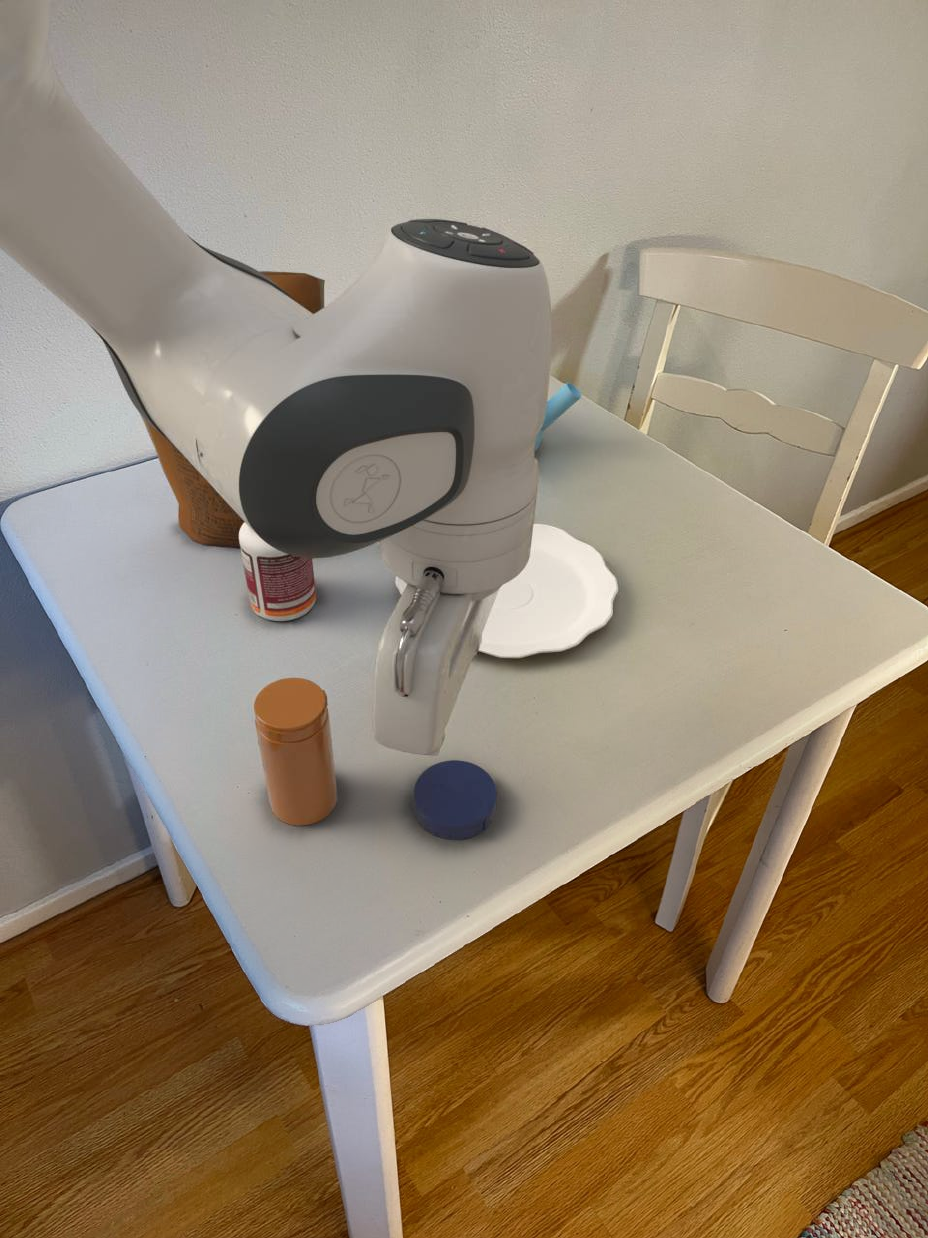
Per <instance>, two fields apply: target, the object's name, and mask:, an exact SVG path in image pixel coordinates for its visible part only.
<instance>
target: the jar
mask: <svg viewBox="0 0 928 1238" xmlns="http://www.w3.org/2000/svg"><path fill="white" fill-rule="evenodd" d="M328 702H329V701H328V694H327V693H326V691H325V689H322V688H321V687H320V685H318V684H317V683H316V682H314V681H312V680H311V679H310V680H309V679H306V678H302V677H287V678H286V677H285V678H281V679H278V680H275V681H273V682H271V683H269V684H267V685H266V686H264V687H263V688H262V689H261V690H260V691H259V692H258V694H257V696H256V697H255V699H254V703H253V711H254V725H255V730H256V737H257V742H258V747H259V752H260V758H261V763H262V768H263V773H264V778H265V784H266V790H267V795H268V801H269V806H270V809H271V812H272V814H273V815H274V816H275V817H276V818H277V819H278V820H280V821H281V822H283V823H285V824H287V825H291V826H297V827H302V826H303V827H305V826H309V825H313V824H316V823H319V822H320V821H322V820H324V819H325V818H326V817H328V816H329V815H330V814H331V813H332V812H333V810H334V809H335V807H336V805H337V802H338V786H337V778H336V769H335V768H336V767H335V758H334V750H333V739H332V732H331V731H332V729H331V722H330V721H331V720H330V711H329V708H328V705H329V703H328Z"/></svg>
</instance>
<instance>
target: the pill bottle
mask: <svg viewBox="0 0 928 1238" xmlns="http://www.w3.org/2000/svg"><path fill="white" fill-rule="evenodd" d="M239 543H240V548H239V549H240V554H241V560H242V564H243V572H244V577H245V582H246V587H247V588H246V589H247V593H248V599H249V604H250V607H251V609H252V611H253V612H254V613H255V614H256V615H257V616H259V617H261V618H263V619H265V620H268V621H273V622H285V621H292V620H295V619H299V618H301V617H303V616H305V615H306V614H307V613H308V612H309V611H311V609H312V608H314V605H315V603H316V600H317V589H316V581H315V572H314V563H313V558H303V557H297V556H293V555H289V554H286V553H284V552H281V551H279V550H277V549H275V548H273V547H272V546H270V545H269V544H267V543H266V542H265V541H263V540H262V539H261V538H260V537H259V536H258V535H257V534H256V533H255V531H254V530H253V529H252V528H250V527H249V526H248V525H247V524H246V523H245V522H244V523H243V525H242V526H241V528H240V531H239Z"/></svg>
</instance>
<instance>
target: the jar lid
mask: <svg viewBox="0 0 928 1238" xmlns="http://www.w3.org/2000/svg"><path fill="white" fill-rule="evenodd" d="M497 790H498V789H497V786H496V783H495V781H494V779H493V777H492V776H491V775H490V774H489V773H488V772H487V771H486V770H485V769H484V768H483V767H481V766H479V765H477V764H476V763H473V762H470V761H466V760H458V759H453V760H452V759H451V760H444V761H440V762H437V763H435V764H433V765H431V766H429V767H427V768H426V769H425V770H424V771H423V772H422V773H421V774H420V775H419V776H418V778H417V779H416V782H415V784H414V787H413V810H414V816H415V818H416V819H417V822H418V823H419V824H420V825H421V827H423V828H424V830H426V831H427V832H428V833H430V834H431V835H433V836H436V837H438V838H440V839H444V840H452V841H456V840H457V841H460V840H466V839H471V838H472V837H475V836H477V835H479V834H481V833H482V832H484V831H486V830H487V828H488V827H489V826H490V824H491V823H492V822H493V820H494V817H495V815H496V811H497V797H498V791H497Z"/></svg>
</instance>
